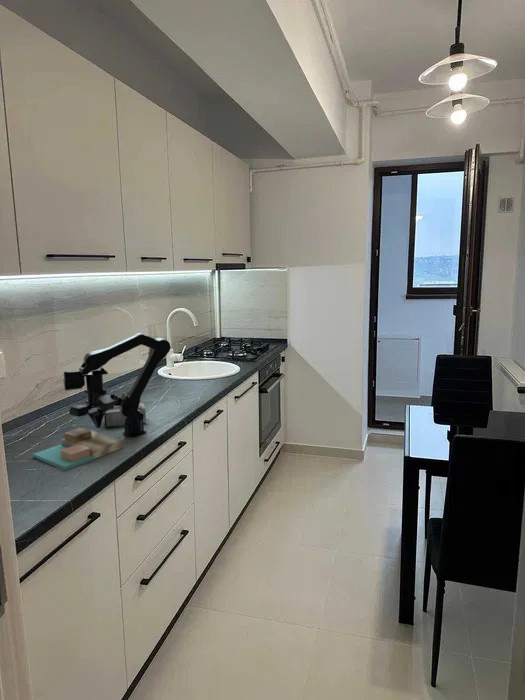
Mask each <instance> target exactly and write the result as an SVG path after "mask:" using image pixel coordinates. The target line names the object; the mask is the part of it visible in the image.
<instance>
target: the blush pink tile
mask: <svg viewBox="0 0 525 700" xmlns="http://www.w3.org/2000/svg"><path fill="white" fill-rule="evenodd" d="M87 456H90V448H88V447H85V446H82V445H79V444H77V445H74V446H71V447H69V448H66V449H63V450H61V458H64V459H67V460H69V461H72V462H74V461H76V460H79V459H82V458H84V457H87Z"/></svg>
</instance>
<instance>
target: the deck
mask: <svg viewBox="0 0 525 700" xmlns="http://www.w3.org/2000/svg"><path fill="white" fill-rule="evenodd" d="M89 431H91V433H92V438H90V439H87V440H84V441H81V442H78V443H73V442H70V441H67V440H65V438H64V439H61V445H63V446H66V447H68V448H69V447H71V446H74V445H77V444H79V445H82V446H85V447H88V448H90V455H91V456H93V460H94V459H97V458H99V457H102V456H105V455H108V454H111V453H112V452H115V451H118V450H120V449H123V448H124V447H123V439H121V438H117V437H115V436H112V435H107V434H105V433H102V432H100V431H99V432H98V431H94V430H91V429H90V430H89Z"/></svg>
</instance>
